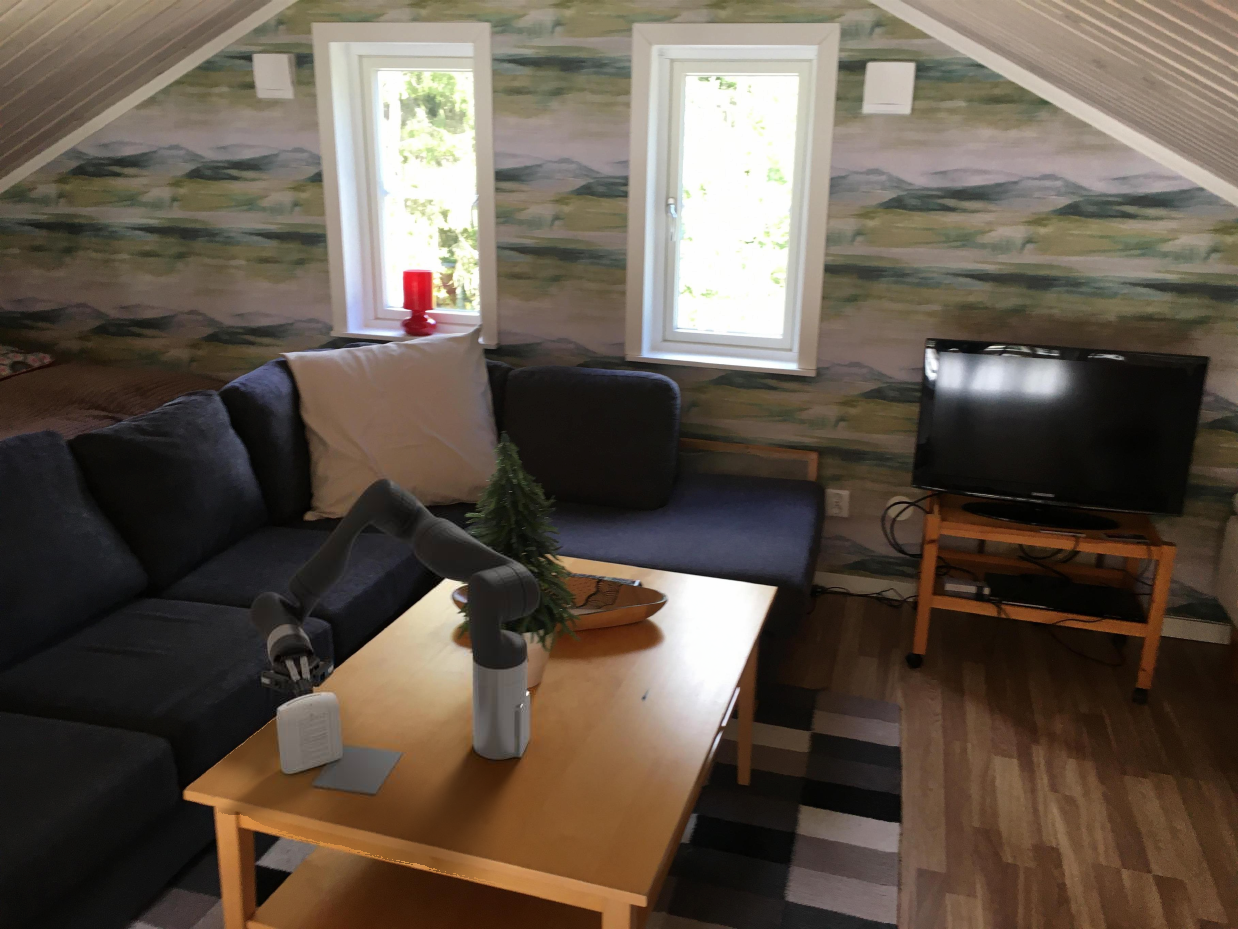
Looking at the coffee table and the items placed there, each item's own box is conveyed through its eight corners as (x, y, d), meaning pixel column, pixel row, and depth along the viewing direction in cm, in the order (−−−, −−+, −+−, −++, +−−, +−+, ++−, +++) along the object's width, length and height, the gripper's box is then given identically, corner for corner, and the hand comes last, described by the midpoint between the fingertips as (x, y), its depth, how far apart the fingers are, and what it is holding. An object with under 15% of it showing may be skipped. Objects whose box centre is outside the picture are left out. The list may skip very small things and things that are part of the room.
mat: (402, 753, 176) (402, 752, 176) (375, 795, 164) (375, 793, 164) (342, 745, 177) (342, 744, 177) (311, 786, 166) (311, 784, 166)
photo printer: (338, 747, 176) (332, 682, 173) (347, 758, 173) (340, 693, 169) (278, 766, 171) (270, 700, 167) (285, 778, 168) (278, 711, 164)
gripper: (251, 639, 186) (263, 683, 171) (325, 627, 191) (344, 668, 176) (254, 676, 188) (267, 723, 173) (327, 663, 193) (346, 707, 178)
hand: (306, 695), depth 175 cm, fingers closed
